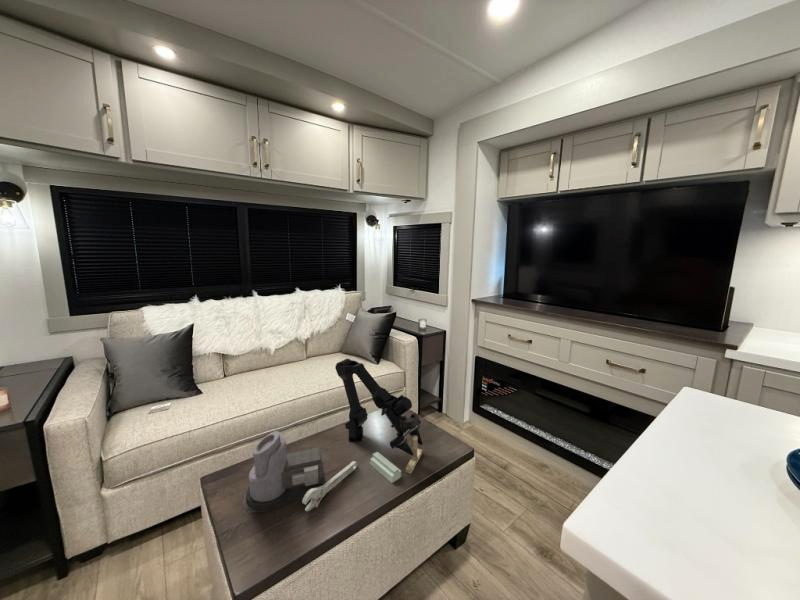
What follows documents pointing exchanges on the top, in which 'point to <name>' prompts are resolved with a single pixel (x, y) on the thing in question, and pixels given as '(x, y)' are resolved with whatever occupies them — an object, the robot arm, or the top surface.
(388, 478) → the ridge
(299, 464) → the juicer
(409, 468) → the rubber stamp
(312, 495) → the wrench
